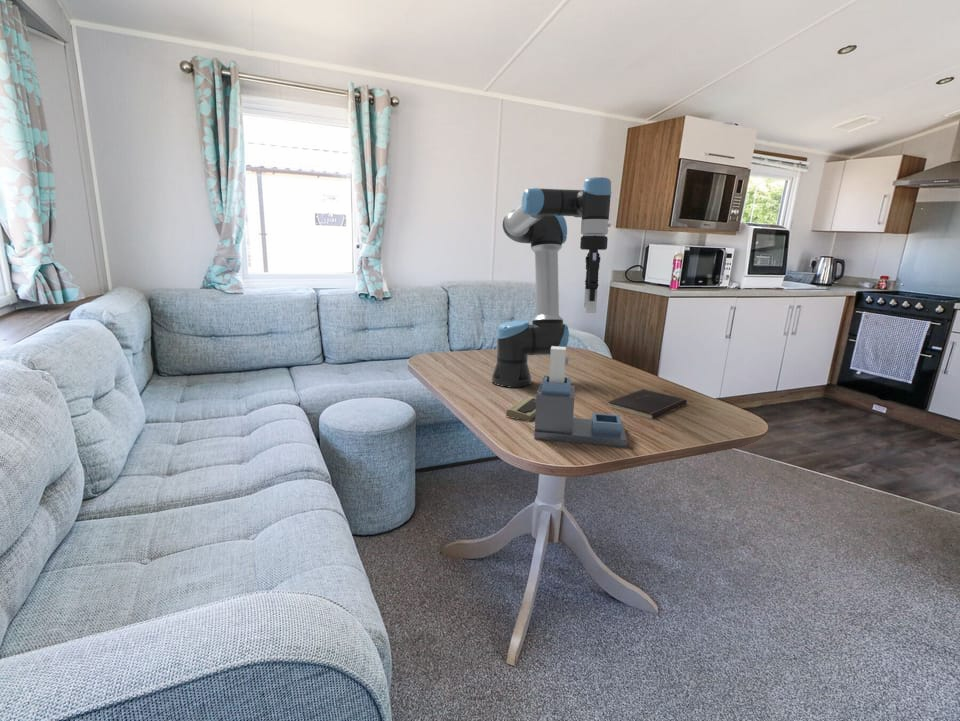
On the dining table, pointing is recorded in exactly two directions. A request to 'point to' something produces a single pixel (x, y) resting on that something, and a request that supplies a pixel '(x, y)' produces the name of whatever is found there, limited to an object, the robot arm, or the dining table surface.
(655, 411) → the hardcover book
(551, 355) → the plug
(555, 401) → the stepped holder stand
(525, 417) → the olive rectangular tray
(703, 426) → the dining table surface
